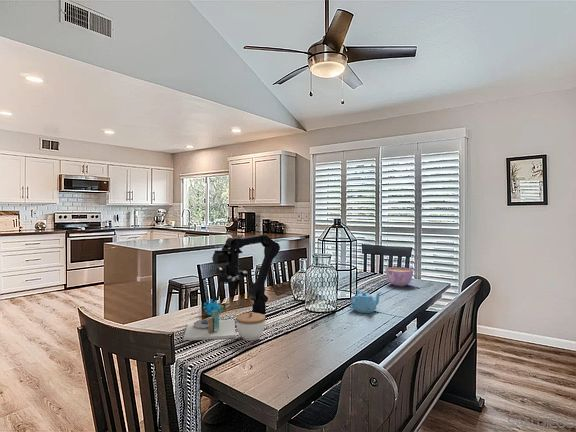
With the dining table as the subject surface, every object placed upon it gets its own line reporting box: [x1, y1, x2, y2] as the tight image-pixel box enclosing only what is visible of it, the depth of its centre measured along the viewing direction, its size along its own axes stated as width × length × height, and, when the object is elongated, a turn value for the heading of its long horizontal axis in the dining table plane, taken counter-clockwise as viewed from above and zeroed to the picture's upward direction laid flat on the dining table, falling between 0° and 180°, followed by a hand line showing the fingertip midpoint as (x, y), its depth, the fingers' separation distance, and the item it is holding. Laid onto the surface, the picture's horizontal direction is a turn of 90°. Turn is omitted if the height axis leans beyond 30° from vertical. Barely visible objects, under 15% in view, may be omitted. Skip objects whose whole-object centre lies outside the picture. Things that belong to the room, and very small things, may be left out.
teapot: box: [349, 288, 382, 314], centre depth 198 cm, size 15×15×10 cm
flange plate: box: [194, 310, 220, 332], centre depth 166 cm, size 16×10×9 cm, turn 40°
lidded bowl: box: [235, 311, 266, 342], centre depth 156 cm, size 13×13×11 cm
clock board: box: [182, 317, 236, 342], centre depth 165 cm, size 22×22×7 cm
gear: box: [202, 298, 225, 316], centre depth 192 cm, size 11×6×10 cm
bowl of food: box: [384, 266, 414, 287], centre depth 262 cm, size 20×20×12 cm
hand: (233, 293), depth 184 cm, fingers closed
